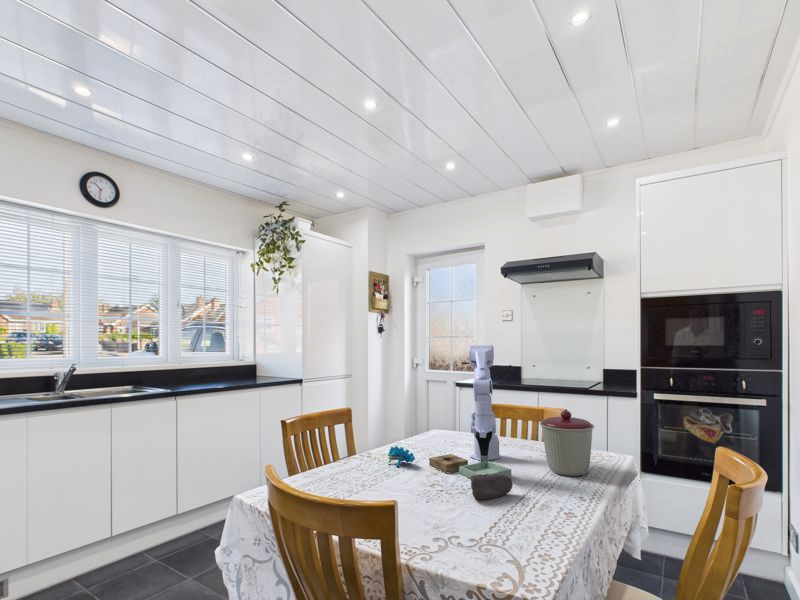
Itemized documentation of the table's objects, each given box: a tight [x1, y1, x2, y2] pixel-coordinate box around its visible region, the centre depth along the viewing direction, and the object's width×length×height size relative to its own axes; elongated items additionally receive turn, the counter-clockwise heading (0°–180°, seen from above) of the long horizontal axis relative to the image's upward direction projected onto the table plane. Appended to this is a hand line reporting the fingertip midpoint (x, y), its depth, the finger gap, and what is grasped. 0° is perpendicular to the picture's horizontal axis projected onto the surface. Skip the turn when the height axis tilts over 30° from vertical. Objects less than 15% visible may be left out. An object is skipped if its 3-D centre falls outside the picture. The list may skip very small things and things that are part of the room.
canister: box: [539, 410, 595, 477], centre depth 153 cm, size 18×18×21 cm
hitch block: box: [428, 453, 469, 474], centre depth 159 cm, size 10×10×3 cm
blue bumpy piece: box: [387, 445, 416, 467], centre depth 162 cm, size 11×6×10 cm
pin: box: [479, 453, 489, 469], centre depth 150 cm, size 3×3×8 cm
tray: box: [458, 460, 512, 480], centre depth 150 cm, size 13×12×2 cm
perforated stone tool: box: [470, 474, 513, 501], centre depth 130 cm, size 15×5×7 cm, turn 110°
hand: (484, 454), depth 150 cm, fingers closed on pin, 3 cm apart
